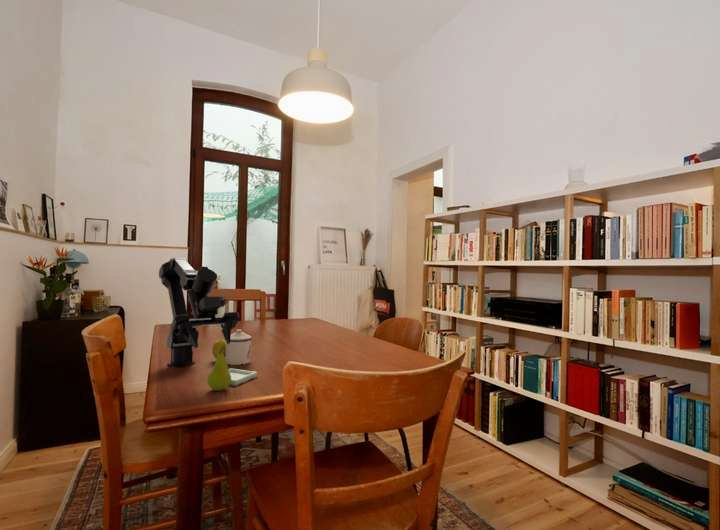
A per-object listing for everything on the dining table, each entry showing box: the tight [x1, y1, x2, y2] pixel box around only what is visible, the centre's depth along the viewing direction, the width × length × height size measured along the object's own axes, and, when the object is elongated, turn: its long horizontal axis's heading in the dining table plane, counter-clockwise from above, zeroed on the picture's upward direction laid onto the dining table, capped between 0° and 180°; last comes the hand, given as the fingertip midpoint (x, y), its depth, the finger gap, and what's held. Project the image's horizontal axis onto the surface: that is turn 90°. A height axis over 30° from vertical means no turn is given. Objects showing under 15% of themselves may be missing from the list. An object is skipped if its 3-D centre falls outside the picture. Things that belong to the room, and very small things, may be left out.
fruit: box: [207, 347, 231, 392], centre depth 103 cm, size 6×6×12 cm
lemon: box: [211, 338, 226, 359], centre depth 134 cm, size 6×6×8 cm
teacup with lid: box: [225, 329, 253, 366], centre depth 134 cm, size 12×9×12 cm
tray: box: [228, 367, 258, 387], centre depth 113 cm, size 10×10×2 cm
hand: (213, 345), depth 107 cm, fingers open, 9 cm apart
